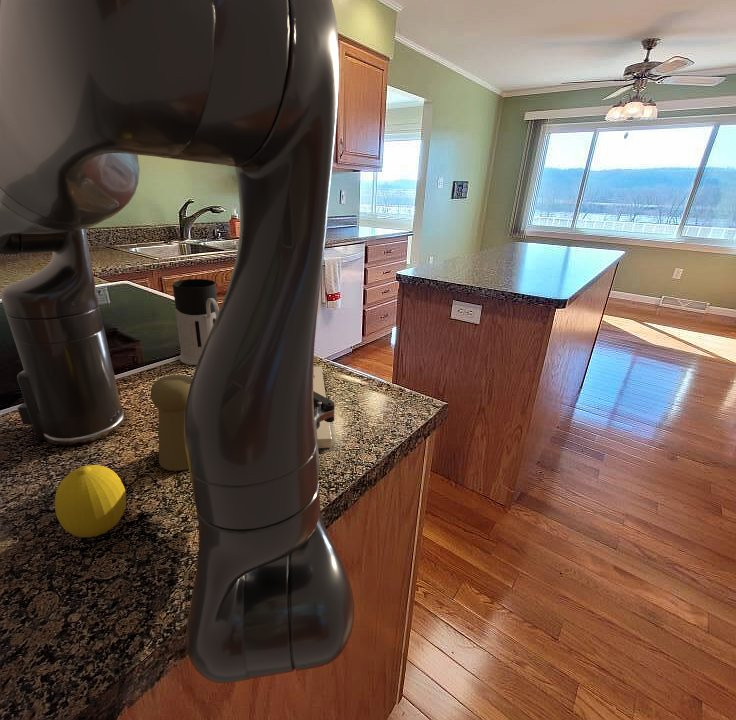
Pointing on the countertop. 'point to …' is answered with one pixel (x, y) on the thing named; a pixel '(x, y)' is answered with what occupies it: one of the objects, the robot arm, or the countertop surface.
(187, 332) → the glass holder
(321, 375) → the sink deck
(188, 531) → the countertop surface
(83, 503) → the lemon
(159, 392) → the cork
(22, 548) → the countertop surface
